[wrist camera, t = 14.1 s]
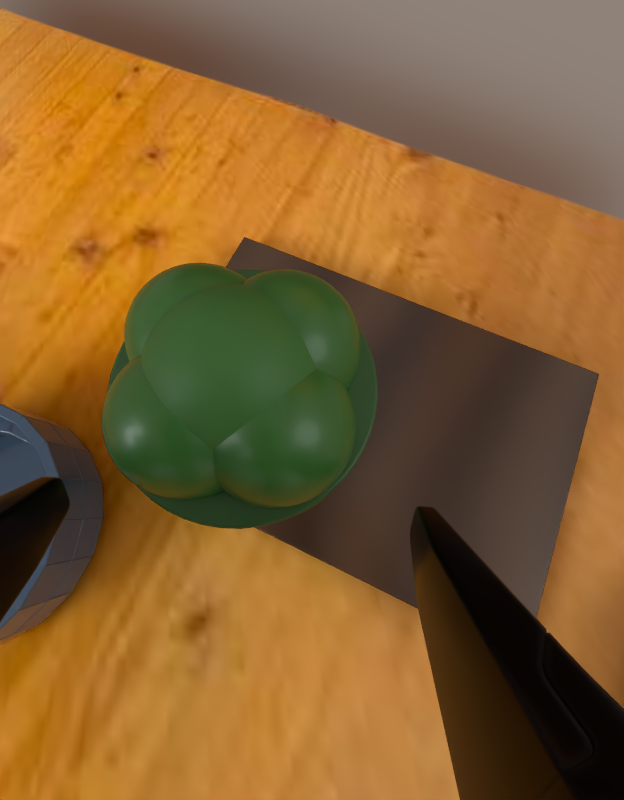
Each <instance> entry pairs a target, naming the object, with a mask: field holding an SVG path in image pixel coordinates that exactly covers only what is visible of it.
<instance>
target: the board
mask: <svg viewBox="0 0 624 800" xmlns="http://www.w3.org/2000/svg"><path fill="white" fill-rule="evenodd" d="M226 268H228V269H231V270H233V271H236V270H264V271H270V270H277V269H292V270H299V271H303V272H307V273H310V274H312V275H315V276H317V277H319V278H321V279H323V280H325V281H326V282H327V283H329V284H330V285H332V286H333V287H334V288H335V289H336V290H337V291H338V292H339V293H340V294H341V295H342V296H343V297H344V298H345V300H346V301H347V303H348V304H349V306H350V308H351V309H352V311H353V313H354V316H355V318H356V321H357V324H358V327H359V329H360V330H361V332H362V333H363V335H364V337H365V339H366V341H367V344H368V346H369V348H370V351H371V354H372V357H373V360H374V364H375V369H376V375H377V384H378V400H377V409H376V416H375V420H374V424H373V428H372V432H371V434H370V437H369V439H368V442H367V444H366V447H365V449H364V451H363V452H362V454H361V456H360V458H359V459H358V461H357V463H356V464H355V466H354V467H353V468H352V470H351V471H350V472H349V474H348V475H347V476H346V477H345V479H344V480H343V481H342V482H341V483H340V484H339V485H338V486H337V487H336V488H335V489H334V490H333V491H332V492H331V493H330V494H329V495H328V496H327V497H326V498H325V499H323V500H322V501H321V502H319V503H318V504H317V505H316V506H314V507H312V508H310V509H309V510H307V511H305V512H303V513H300V514H298V515H295V516H293V517H290V518H288V519H285V520H282V521H280V522H276V523H272V524H268V525H264V526H260V527H255V528H257V529H259V530H261V531H263V532H265V533H267V534H269V535H271V536H273V537H275V538H277V539H279V540H281V541H283V542H285V543H287V544H289V545H291V546H293V547H295V548H297V549H299V550H301V551H303V552H305V553H307V554H309V555H311V556H313V557H315V558H317V559H319V560H321V561H323V562H325V563H327V564H329V565H332V566H334V567H336V568H338V569H340V570H342V571H344V572H346V573H348V574H350V575H352V576H354V577H356V578H358V579H360V580H362V581H364V582H366V583H368V584H370V585H372V586H374V587H376V588H378V589H380V590H382V591H384V592H386V593H388V594H390V595H392V596H394V597H396V598H398V599H400V600H402V601H404V602H406V603H408V604H410V605H412V606H414V607H416V608H418V605H417V600H416V592H415V583H414V573H413V564H412V554H411V545H410V528H411V524H412V520H413V516H414V512H415V509H416V507H418V506H425V507H433V508H434V509H436V510H437V511H438V513H439V514H440V515H441V516H442V517H443V518H444V519H445V520H446V521H447V522H448V523H449V524H450V526H451V527H452V528H453V529H454V530H455V531H456V532H457V533H458V534H459V535H460V536H461V537H462V539H463V540H464V541H465V542H466V543H467V544H468V545H469V546H470V547H471V548H472V549H473V550H474V552H475V553H476V554H477V555H478V556H479V557H480V558H481V559H482V560H483V561H484V562H485V563H486V565H487V566H488V567H489V568H490V569H491V570H492V571H493V572H494V573H495V574H496V575H497V576H498V578H499V579H500V580H501V581H502V582H503V583H504V584H505V585H506V586H507V587H508V588H509V589H510V591H511V592H512V593H513V594H514V595H515V596H516V597H517V598H518V599H519V600H520V601H521V602H522V604H523V605H524V606H525V607H526V608H527V609H528V610H529V611H530V612H531V613H532V614H533V615H534V617H535V618H536V616H537V612H538V609H539V605H540V601H541V597H542V593H543V589H544V585H545V581H546V578H547V574H548V570H549V566H550V562H551V558H552V554H553V550H554V547H555V543H556V539H557V535H558V531H559V527H560V523H561V519H562V516H563V512H564V508H565V504H566V500H567V496H568V492H569V488H570V485H571V481H572V477H573V473H574V469H575V465H576V461H577V457H578V454H579V450H580V446H581V442H582V438H583V434H584V430H585V427H586V423H587V419H588V415H589V411H590V407H591V403H592V399H593V396H594V392H595V388H596V384H597V380H598V376H599V374H598V373H595V372H593V371H590V370H587V369H585V368H582V367H580V366H577V365H574V364H572V363H569V362H567V361H564V360H561V359H559V358H556V357H554V356H551V355H549V354H546V353H543V352H541V351H538V350H536V349H533V348H530V347H528V346H525V345H523V344H520V343H517V342H515V341H512V340H510V339H507V338H504V337H502V336H499V335H497V334H494V333H492V332H489V331H486V330H484V329H481V328H479V327H476V326H473V325H471V324H468V323H466V322H463V321H460V320H458V319H455V318H453V317H450V316H448V315H445V314H442V313H440V312H437V311H435V310H432V309H429V308H427V307H424V306H422V305H419V304H416V303H414V302H411V301H409V300H406V299H404V298H401V297H398V296H396V295H393V294H391V293H388V292H385V291H383V290H380V289H378V288H375V287H372V286H370V285H367V284H365V283H362V282H359V281H357V280H354V279H352V278H349V277H347V276H344V275H341V274H339V273H336V272H334V271H331V270H328V269H326V268H323V267H321V266H318V265H315V264H313V263H310V262H308V261H305V260H303V259H300V258H297V257H295V256H292V255H290V254H287V253H284V252H282V251H279V250H277V249H274V248H271V247H269V246H266V245H264V244H261V243H258V242H256V241H253V240H251V239H248V238H246V237H244V238H243V240H242V242H241V243H240V245H239V247H238V248H237V250H236V252H235V253H234V255H233V256H232V258H231V260H230V261H229V263H228V265H227V266H226Z"/></svg>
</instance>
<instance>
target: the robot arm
mask: <svg viewBox="0 0 624 800" xmlns="http://www.w3.org/2000/svg"><path fill="white" fill-rule="evenodd" d="M69 508H70V500H69V497H68V494H67V491H66V488H65V486H64V483H63V481H62V480H61V479H60V478H58V477H48V476H44V477H40V478H38V479H36V480H33V481H31V482H29V483H27V484H25V485H23V486H20V487H18V488H16V489H14V490H12V491H10V492H7V493H5V494H3V495H1V496H0V622H1V621H2V619H3V618H4V616H5V615H6V613H7V612H8V610H9V609H10V607H11V606H12V605H13V603H14V602H15V600H16V599H17V597H18V596H19V594H20V593H21V591H22V590H23V588H24V587H25V585H26V584H27V582H28V581H29V579H30V578H31V576H32V575H33V573H34V572H35V570H36V568H37V567H38V565H39V563H40V562H41V560H42V558H43V557H44V555H45V553H46V551H47V549H48V547H49V546H50V544H51V542H52V540H53V538H54V536H55V535H56V533H57V531H58V529H59V527H60V526H61V524H62V522H63V520H64V518H65V516H66V515H67V513H68V511H69ZM410 545H411V554H412V564H413V573H414V583H415V592H416V600H417V605H418V610H419V615H420V619H421V624H422V628H423V633H424V638H425V642H426V647H427V651H428V656H429V660H430V665H431V669H432V674H433V678H434V683H435V688H436V692H437V697H438V701H439V706H440V710H441V715H442V719H443V724H444V729H445V733H446V738H447V742H448V747H449V751H450V756H451V760H452V765H453V770H454V774H455V779H456V783H457V788H458V792H459V797H460V800H624V708H622V707H621V706H620V705H619V704H618V703H617V702H616V701H615V700H614V699H613V698H612V697H611V696H610V695H609V694H608V693H607V692H606V691H605V690H604V689H603V688H602V687H601V686H600V685H599V684H598V683H597V682H596V681H595V680H594V679H593V678H592V677H591V676H590V675H589V674H588V673H587V672H586V671H585V670H584V669H583V668H582V667H581V666H580V665H579V664H578V663H577V661H576V660H575V659H574V658H573V657H572V656H571V655H570V654H569V653H568V652H567V651H566V650H565V649H564V648H563V647H562V646H561V645H560V643H559V642H558V641H557V640H556V639H555V638H554V637H553V636H552V635H551V634H550V633H546V629H545V627H544V626H543V625H542V624H541V623H540V622H539V621H538V620H537V619H536V618H535V617H534V615H533V614H532V613H531V612H530V611H529V610H528V609H527V608H526V607H525V606H524V605H523V604H522V602H521V601H520V600H519V599H518V598H517V597H516V596H515V595H514V594H513V593H512V592H511V591H510V589H509V588H508V587H507V586H506V585H505V584H504V583H503V582H502V581H501V580H500V579H499V578H498V576H497V575H496V574H495V573H494V572H493V571H492V570H491V569H490V568H489V567H488V566H487V565H486V563H485V562H484V561H483V560H482V559H481V558H480V557H479V556H478V555H477V554H476V553H475V552H474V550H473V549H472V548H471V547H470V546H469V545H468V544H467V543H466V542H465V541H464V540H463V539H462V537H461V536H460V535H459V534H458V533H457V532H456V531H455V530H454V529H453V528H452V527H451V526H450V524H449V523H448V522H447V521H446V520H445V519H444V518H443V517H442V516H441V515H440V514H439V513H438V511H437V510H436V509H434V508H433V507H425V506H418V507H416V509H415V512H414V516H413V520H412V524H411V528H410Z"/></svg>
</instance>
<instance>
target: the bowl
mask: <svg viewBox="0 0 624 800" xmlns="http://www.w3.org/2000/svg"><path fill="white" fill-rule="evenodd" d="M44 476H48V477H58V478H60V479H61V480H62V481H63V483H64V486H65V488H66V491H67V494H68V497H69V500H70V508H69V511H68V513H67V515H66V516H65V518H64V520H63V522H62V524H61V526H60V527H59V529H58V531H57V533H56V535H55V536H54V538H53V540H52V542H51V544H50V546H49V547H48V549H47V551H46V553H45V555H44V557H43V558H42V560H41V562H40V563H39V565H38V567H37V568H36V570H35V572H34V573H33V575H32V576H31V578H30V579H29V581H28V582H27V584H26V585H25V587H24V588H23V590H22V591H21V593H20V594H19V596H18V597H17V599H16V600H15V602H14V603H13V605H12V606H11V607H10V609H9V610H8V612H7V613H6V615H5V616H4V618H3V619H2V621H1V622H0V645H3V644H5V643H7V642H9V641H10V640H12V639H14V638H16V637H17V636H19V635H21V634H23V633H24V632H26V631H28V630H30V629H31V628H33V627H35V626H37V625H38V624H40V623H41V622H43V621H44V620H45V619H46V618H47V617H48V616H49V615H50V614H51V613H52V612H53V611H54V610H55V609H56V608H57V607H58V606H59V605H60V604H61V603H62V602H63V601H64V600H65V599H66V598H67V597H68V596H69V595H70V594H71V593H72V590H73V589H74V587H75V586H76V584H77V582H78V581H79V579H80V577H81V575H82V574H83V572H84V570H85V569H86V567H87V565H88V563H89V562H90V560H91V558H92V555H94V552H95V548H96V544H97V540H98V537H99V533H100V529H101V525H102V521H103V492H102V483H101V482H102V481H101V478H100V476H99V473H98V470H97V468H96V465H95V463H94V460H93V458H92V455H91V453H90V451H89V450H88V449H87V448H86V447H85V446H84V445H83V443H82V442H81V441H80V440H79V439H78V438H77V437H76V436H75V435H74V434H73V432H72V431H71V430H69V429H67V428H65V427H63V426H61V425H59V424H57V423H55V422H53V421H51V420H49V419H47V418H45V417H42V416H39V415H36V414H33V413H30V412H27V411H24V410H21V409H19V408H16V407H13V406H10V405H7V404H4V403H1V402H0V496H1V495H3V494H5V493H7V492H10V491H12V490H14V489H16V488H18V487H20V486H23V485H25V484H27V483H29V482H31V481H33V480H36V479H38V478H40V477H44Z"/></svg>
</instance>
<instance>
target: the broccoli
mask: <svg viewBox="0 0 624 800" xmlns="http://www.w3.org/2000/svg"><path fill="white" fill-rule="evenodd" d="M124 340H125V341H124V343H123V345H122V347H121V349H120V351H119V353H118V355H117V357H116V360H115V363H114V366H113V369H112V372H111V376H110V381H109V386H108V393H107V396H106V399H105V402H104V406H103V412H102V430H103V436H104V440H105V444H106V447H107V450H108V452H109V454H110V456H111V458H112V460H113V461H114V463H115V464H116V466H117V467H118V468H119V470H120V471H121V472H122V473H123V474H124V475H125V476H126V477H127V478H128V479H129V480H130V481H131V482H133V483H134V484H136V485H137V487H138V488H139V489H140V490H141V491H142V492H144V493H145V494H146V495H147V496H148V497H149V498H150V499H151V500H152V501H154V502H155V503H157V504H158V505H159V506H161V507H162V508H164V509H165V510H167V511H169V512H171V513H173V514H175V515H177V516H179V517H181V518H183V519H185V520H189V521H192V522H195V523H198V524H201V525H206V526H212V527H218V528H236V529H242V528H251V527H260V526H264V525H268V524H272V523H276V522H280V521H282V520H285V519H288V518H290V517H293V516H295V515H298V514H300V513H303V512H305V511H307V510H309V509H310V508H312V507H314V506H316V505H317V504H318V503H319V502H321V501H322V500H323V499H325V498H326V497H327V496H328V495H329V494H330V493H331V492H332V491H333V490H334V489H335V488H336V487H337V486H338V485H339V484H340V483H341V482H342V481H343V480H344V479H345V477H346V476H347V475H348V474H349V472H350V471H351V470H352V468H353V467H354V466H355V464H356V463H357V461H358V459H359V458H360V456H361V454H362V452H363V451H364V449H365V447H366V444H367V442H368V439H369V437H370V434H371V432H372V428H373V424H374V420H375V416H376V409H377V400H378V384H377V375H376V369H375V364H374V360H373V357H372V354H371V351H370V348H369V346H368V344H367V341H366V339H365V337H364V335H363V333H362V332H361V330H360V329H359V327H358V324H357V321H356V318H355V316H354V313H353V311H352V309H351V308H350V306H349V304H348V303H347V301H346V300H345V298H344V297H343V296H342V295H341V294H340V293H339V292H338V291H337V290H336V289H335V288H334V287H333V286H332V285H330V284H329V283H327V282H326V281H325V280H323V279H321V278H319V277H317V276H315V275H312V274H310V273H307V272H303V271H299V270H292V269H277V270H270V271H264V270H236V271H233V270H231V269H228V268H225V267H223V266H219V265H214V264H207V263H189V264H183V265H178V266H175V267H172V268H170V269H168V270H165V271H163V272H161V273H160V274H158V275H156V276H155V277H154V278H152V279H151V280H150V281H149V282H147V283H146V284H145V285H144V286H143V287H142V289H141V290H140V291H139V292H138V294H137V295H136V297H135V298H134V300H133V302H132V304H131V306H130V309H129V311H128V314H127V317H126V322H125V333H124Z"/></svg>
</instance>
